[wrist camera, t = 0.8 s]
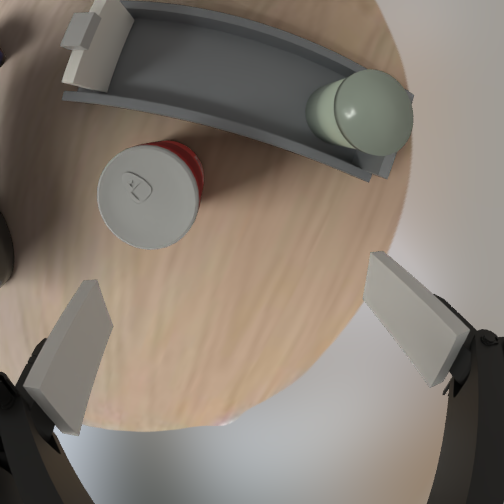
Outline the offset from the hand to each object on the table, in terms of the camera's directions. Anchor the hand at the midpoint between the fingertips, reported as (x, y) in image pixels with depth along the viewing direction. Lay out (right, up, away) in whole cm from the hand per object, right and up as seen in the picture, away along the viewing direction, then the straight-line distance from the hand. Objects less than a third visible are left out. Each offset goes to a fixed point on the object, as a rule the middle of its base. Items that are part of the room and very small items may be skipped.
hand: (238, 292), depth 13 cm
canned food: (-8, +10, +16) cm, 21 cm away
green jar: (+10, +17, +14) cm, 24 cm away
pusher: (-14, +22, +8) cm, 27 cm away
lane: (-1, +20, +12) cm, 23 cm away
